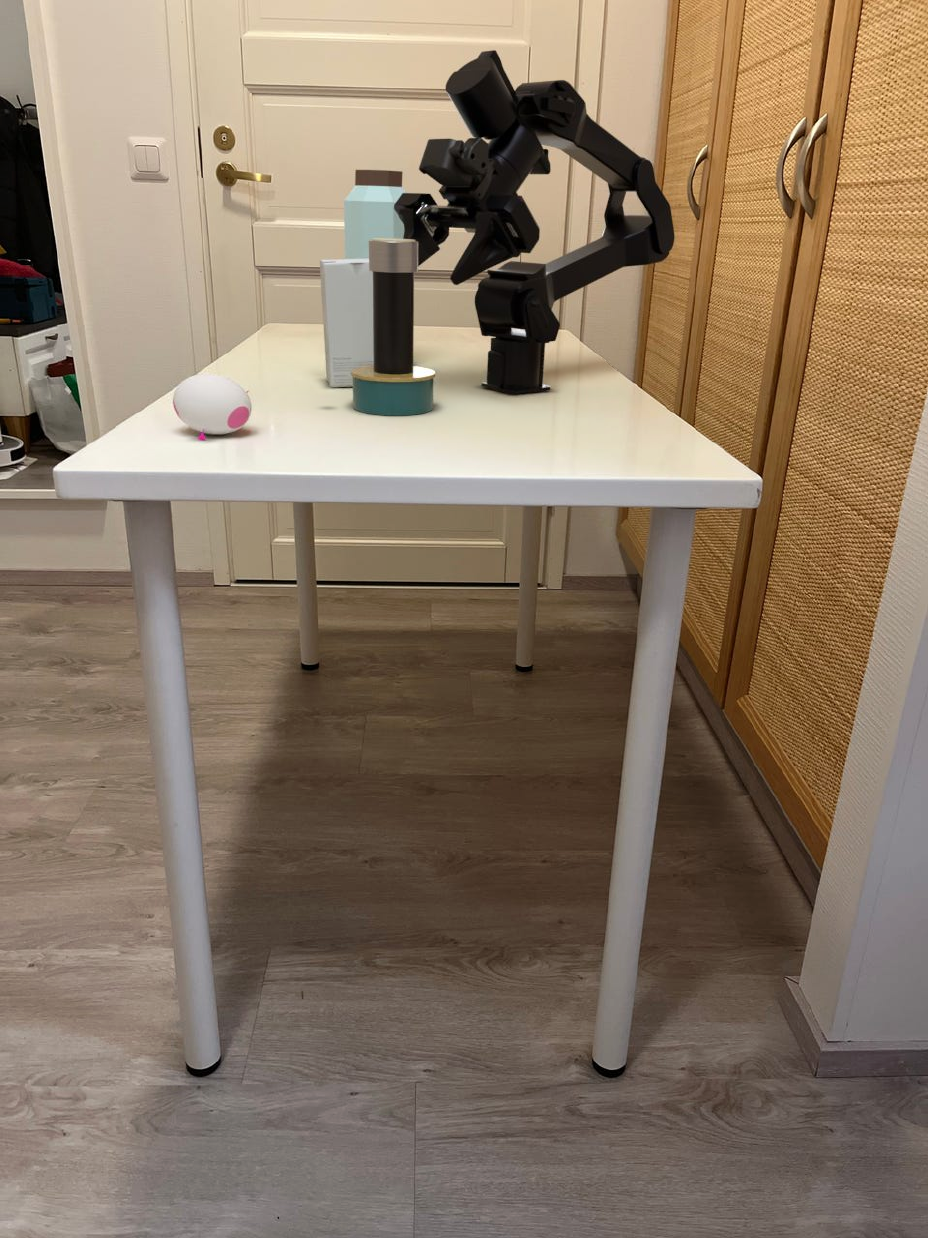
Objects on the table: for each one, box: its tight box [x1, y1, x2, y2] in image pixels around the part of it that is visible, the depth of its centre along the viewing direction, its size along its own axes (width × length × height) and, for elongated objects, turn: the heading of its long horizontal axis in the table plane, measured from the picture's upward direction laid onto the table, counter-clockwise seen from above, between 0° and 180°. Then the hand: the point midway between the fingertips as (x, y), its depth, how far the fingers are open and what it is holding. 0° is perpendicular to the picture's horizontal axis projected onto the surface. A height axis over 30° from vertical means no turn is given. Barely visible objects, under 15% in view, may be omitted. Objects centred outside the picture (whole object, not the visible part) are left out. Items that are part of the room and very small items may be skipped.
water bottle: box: [343, 169, 407, 259], centre depth 131 cm, size 10×10×25 cm
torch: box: [369, 238, 419, 375], centre depth 103 cm, size 5×5×14 cm
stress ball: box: [172, 373, 253, 441], centre depth 92 cm, size 8×8×7 cm
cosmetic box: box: [319, 258, 374, 388], centre depth 117 cm, size 8×6×15 cm
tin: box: [351, 365, 436, 417], centre depth 106 cm, size 9×9×4 cm
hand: (424, 278), depth 105 cm, fingers open, 9 cm apart
